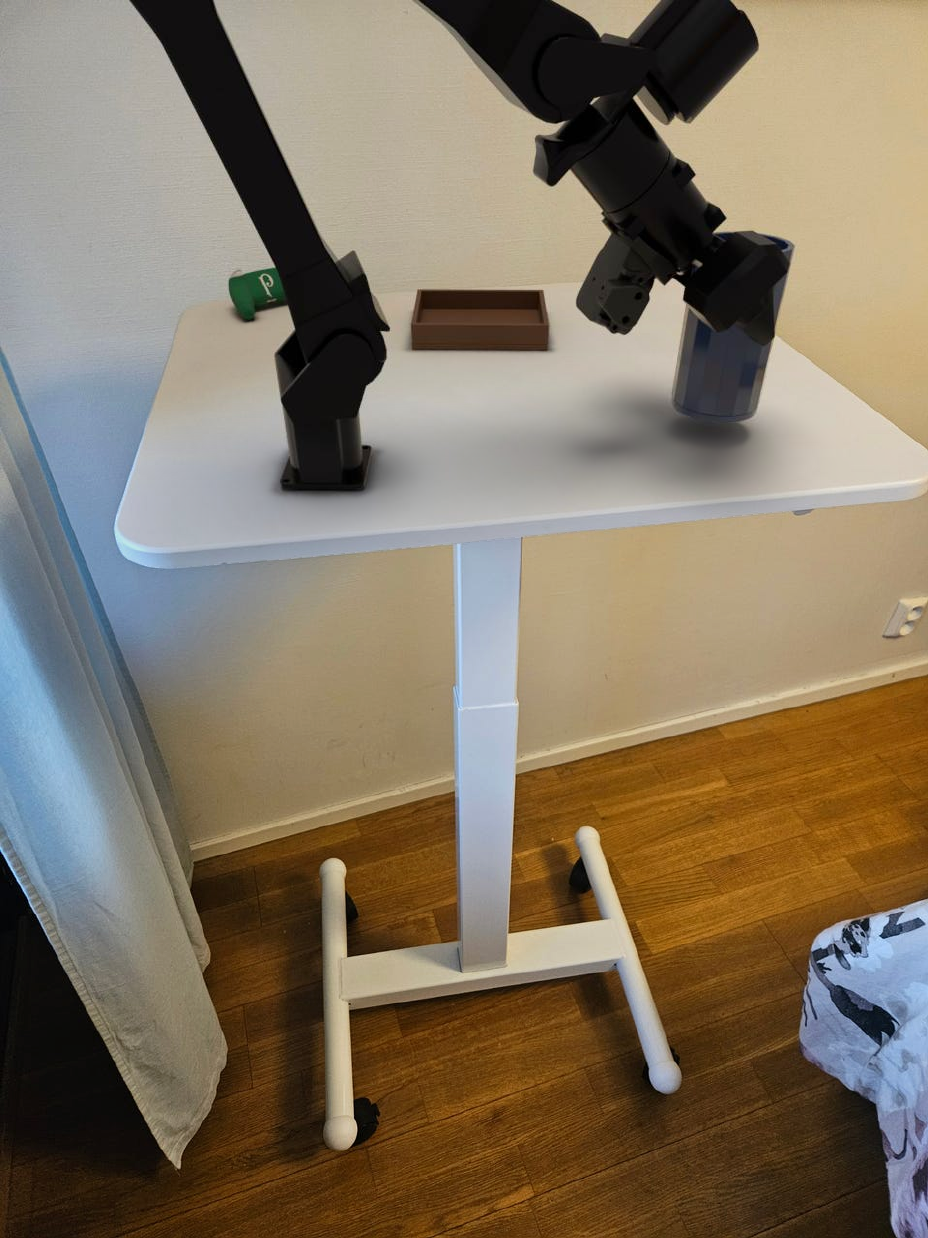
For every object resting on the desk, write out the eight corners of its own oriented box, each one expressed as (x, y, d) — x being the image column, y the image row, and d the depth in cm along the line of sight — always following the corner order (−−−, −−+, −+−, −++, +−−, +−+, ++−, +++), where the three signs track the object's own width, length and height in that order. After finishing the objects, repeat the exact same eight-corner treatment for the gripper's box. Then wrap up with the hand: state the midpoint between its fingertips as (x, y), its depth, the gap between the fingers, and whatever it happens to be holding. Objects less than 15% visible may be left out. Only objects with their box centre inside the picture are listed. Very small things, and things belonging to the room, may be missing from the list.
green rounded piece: (311, 315, 100) (290, 270, 100) (319, 298, 97) (297, 251, 97) (239, 333, 96) (216, 285, 96) (245, 315, 93) (222, 265, 93)
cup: (766, 424, 69) (805, 254, 61) (678, 421, 69) (706, 252, 61) (746, 391, 75) (780, 232, 67) (665, 389, 75) (689, 230, 67)
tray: (547, 350, 87) (549, 324, 86) (411, 349, 87) (410, 324, 86) (542, 313, 96) (543, 289, 94) (418, 312, 96) (417, 288, 94)
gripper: (516, 234, 69) (626, 355, 78) (594, 312, 55) (718, 449, 64) (619, 119, 65) (722, 260, 74) (731, 171, 51) (842, 337, 60)
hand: (745, 324), depth 68 cm, fingers closed on cup, 7 cm apart
